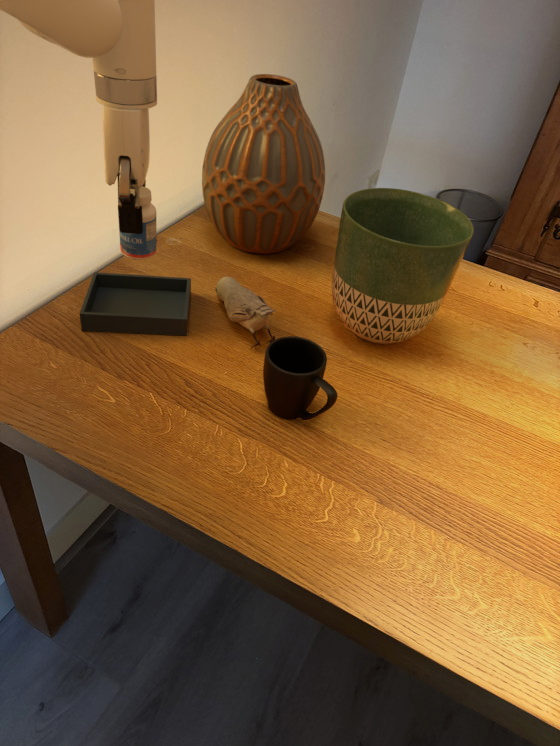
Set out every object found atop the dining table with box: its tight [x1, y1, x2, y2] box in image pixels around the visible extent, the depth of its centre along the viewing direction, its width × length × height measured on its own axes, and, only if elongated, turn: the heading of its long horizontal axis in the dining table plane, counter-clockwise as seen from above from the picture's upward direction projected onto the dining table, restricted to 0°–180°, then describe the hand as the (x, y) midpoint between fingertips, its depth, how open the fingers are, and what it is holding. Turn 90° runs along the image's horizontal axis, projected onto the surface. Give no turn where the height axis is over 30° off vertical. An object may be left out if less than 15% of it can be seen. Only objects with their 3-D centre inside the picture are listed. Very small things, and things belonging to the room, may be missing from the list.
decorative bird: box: [215, 275, 277, 350], centre depth 89 cm, size 5×16×8 cm, turn 33°
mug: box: [262, 335, 338, 422], centre depth 73 cm, size 8×12×10 cm
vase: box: [201, 73, 326, 255], centre depth 105 cm, size 24×24×30 cm
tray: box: [79, 271, 192, 337], centre depth 89 cm, size 16×12×3 cm
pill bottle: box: [117, 186, 158, 261], centre depth 80 cm, size 6×5×10 cm
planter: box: [331, 187, 475, 345], centre depth 87 cm, size 20×20×21 cm
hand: (134, 221), depth 80 cm, fingers closed on pill bottle, 5 cm apart
